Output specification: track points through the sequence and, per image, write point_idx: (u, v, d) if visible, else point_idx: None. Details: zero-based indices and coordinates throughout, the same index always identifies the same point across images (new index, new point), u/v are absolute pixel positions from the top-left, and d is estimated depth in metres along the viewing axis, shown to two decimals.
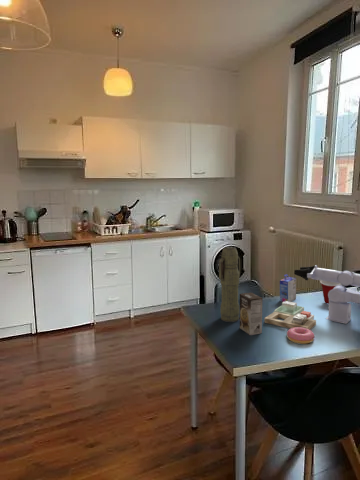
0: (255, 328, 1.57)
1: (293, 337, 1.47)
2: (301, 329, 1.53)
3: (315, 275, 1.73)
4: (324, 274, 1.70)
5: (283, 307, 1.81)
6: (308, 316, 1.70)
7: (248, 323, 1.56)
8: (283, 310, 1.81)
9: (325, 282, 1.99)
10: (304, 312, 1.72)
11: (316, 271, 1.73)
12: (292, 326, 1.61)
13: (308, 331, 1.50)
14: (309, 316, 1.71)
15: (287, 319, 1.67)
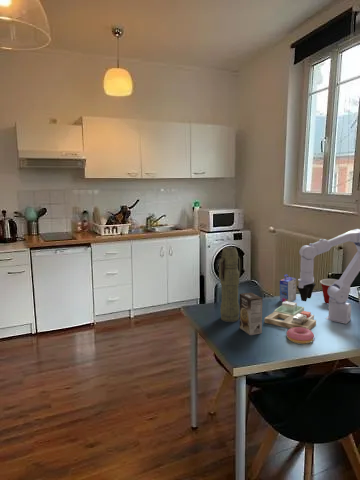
0: (255, 328, 1.57)
1: (293, 337, 1.47)
2: (301, 329, 1.53)
3: (305, 280, 1.67)
4: (307, 272, 1.67)
5: (283, 307, 1.81)
6: (308, 316, 1.70)
7: (248, 323, 1.56)
8: (283, 310, 1.81)
9: (325, 282, 1.99)
10: (304, 312, 1.72)
11: (301, 279, 1.69)
12: (292, 326, 1.61)
13: (308, 331, 1.50)
14: (309, 316, 1.71)
15: (287, 319, 1.67)
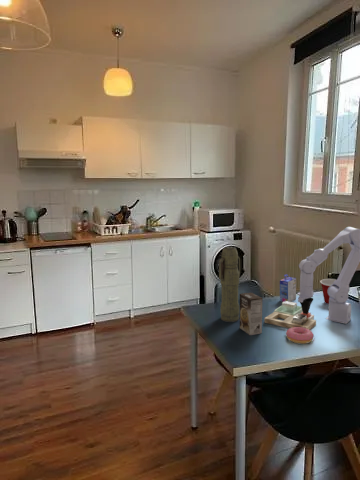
0: (255, 328, 1.57)
1: (292, 337, 1.47)
2: (300, 329, 1.53)
3: (304, 294, 1.68)
4: (306, 286, 1.67)
5: (283, 307, 1.81)
6: (308, 317, 1.70)
7: (248, 323, 1.56)
8: (283, 310, 1.81)
9: (325, 282, 1.99)
10: (304, 313, 1.72)
11: (301, 293, 1.70)
12: (292, 326, 1.61)
13: (307, 331, 1.50)
14: None
15: (287, 319, 1.67)
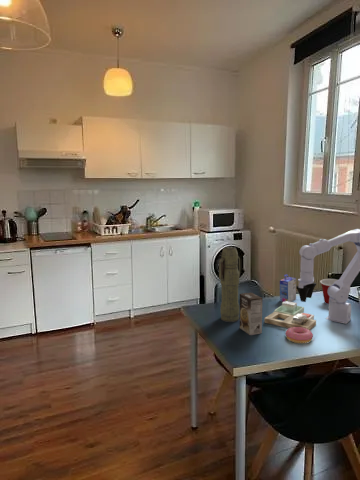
0: (255, 328, 1.57)
1: (292, 337, 1.48)
2: (300, 329, 1.53)
3: (305, 280, 1.67)
4: (307, 272, 1.67)
5: (283, 307, 1.81)
6: None
7: (248, 323, 1.56)
8: (283, 310, 1.81)
9: (325, 282, 1.99)
10: (304, 314, 1.72)
11: (301, 279, 1.69)
12: (292, 326, 1.61)
13: (307, 331, 1.50)
14: None
15: (287, 319, 1.67)
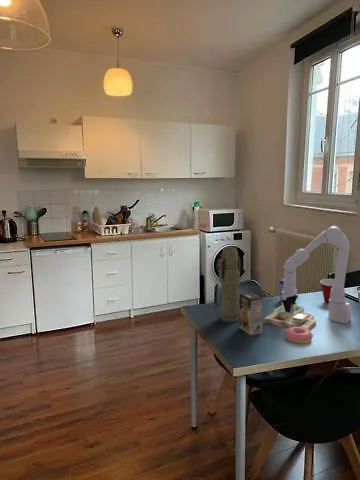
0: (255, 328, 1.57)
1: (291, 337, 1.48)
2: (299, 329, 1.53)
3: (288, 292, 1.77)
4: (287, 284, 1.77)
5: (283, 307, 1.81)
6: None
7: (248, 323, 1.56)
8: (283, 310, 1.81)
9: (325, 282, 1.99)
10: (304, 314, 1.72)
11: (284, 291, 1.79)
12: (292, 326, 1.61)
13: (306, 331, 1.50)
14: None
15: (287, 319, 1.67)
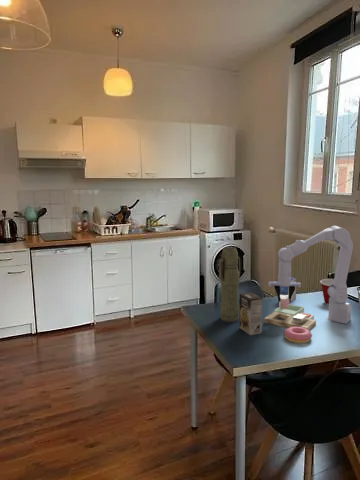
0: (255, 328, 1.57)
1: (290, 336, 1.48)
2: (299, 328, 1.53)
3: (278, 281, 1.72)
4: (284, 274, 1.68)
5: None
6: None
7: (248, 323, 1.56)
8: (279, 302, 1.76)
9: (325, 282, 1.99)
10: (304, 314, 1.72)
11: None
12: (292, 326, 1.61)
13: (305, 330, 1.50)
14: None
15: (287, 319, 1.67)
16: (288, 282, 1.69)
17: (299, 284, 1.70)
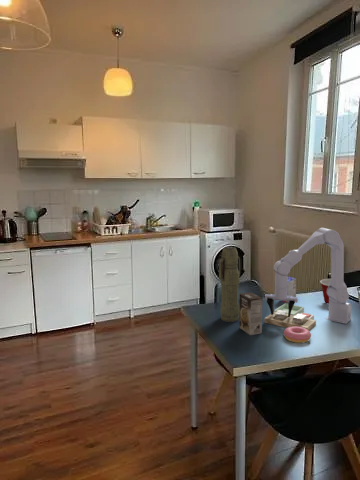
0: (255, 328, 1.57)
1: (290, 336, 1.48)
2: (298, 328, 1.54)
3: (274, 294, 1.69)
4: (281, 288, 1.65)
5: None
6: None
7: (248, 323, 1.56)
8: None
9: (325, 282, 1.99)
10: (304, 314, 1.72)
11: None
12: None
13: (305, 330, 1.51)
14: None
15: (287, 319, 1.67)
16: (283, 296, 1.65)
17: (295, 299, 1.65)
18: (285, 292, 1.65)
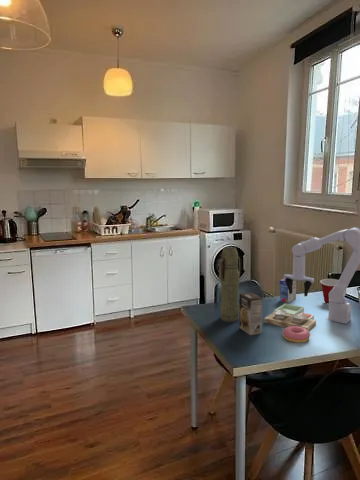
0: (255, 328, 1.57)
1: (289, 336, 1.48)
2: (297, 328, 1.54)
3: None
4: (295, 268, 1.77)
5: None
6: None
7: (248, 323, 1.56)
8: None
9: (325, 282, 1.99)
10: (304, 314, 1.72)
11: None
12: None
13: (304, 330, 1.51)
14: None
15: (287, 319, 1.67)
16: (299, 276, 1.76)
17: (311, 279, 1.74)
18: (301, 272, 1.76)
